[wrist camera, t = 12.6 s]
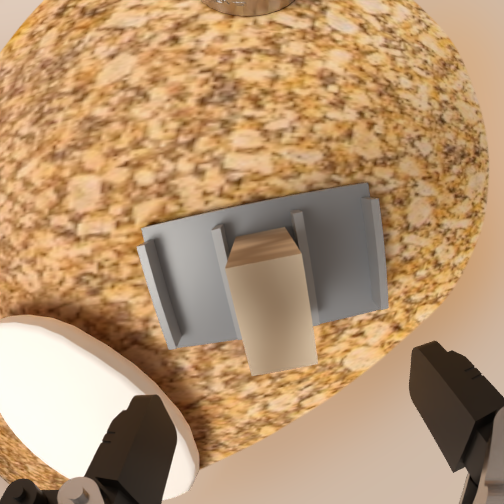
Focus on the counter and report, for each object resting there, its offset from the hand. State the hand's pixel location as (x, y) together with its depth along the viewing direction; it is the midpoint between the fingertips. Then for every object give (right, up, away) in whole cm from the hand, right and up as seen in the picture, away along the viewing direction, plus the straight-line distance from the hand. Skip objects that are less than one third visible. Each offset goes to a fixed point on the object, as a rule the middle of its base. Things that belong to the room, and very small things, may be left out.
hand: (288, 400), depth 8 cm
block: (0, +3, +14) cm, 14 cm away
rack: (0, +3, +15) cm, 15 cm away
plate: (-20, -14, +19) cm, 31 cm away
